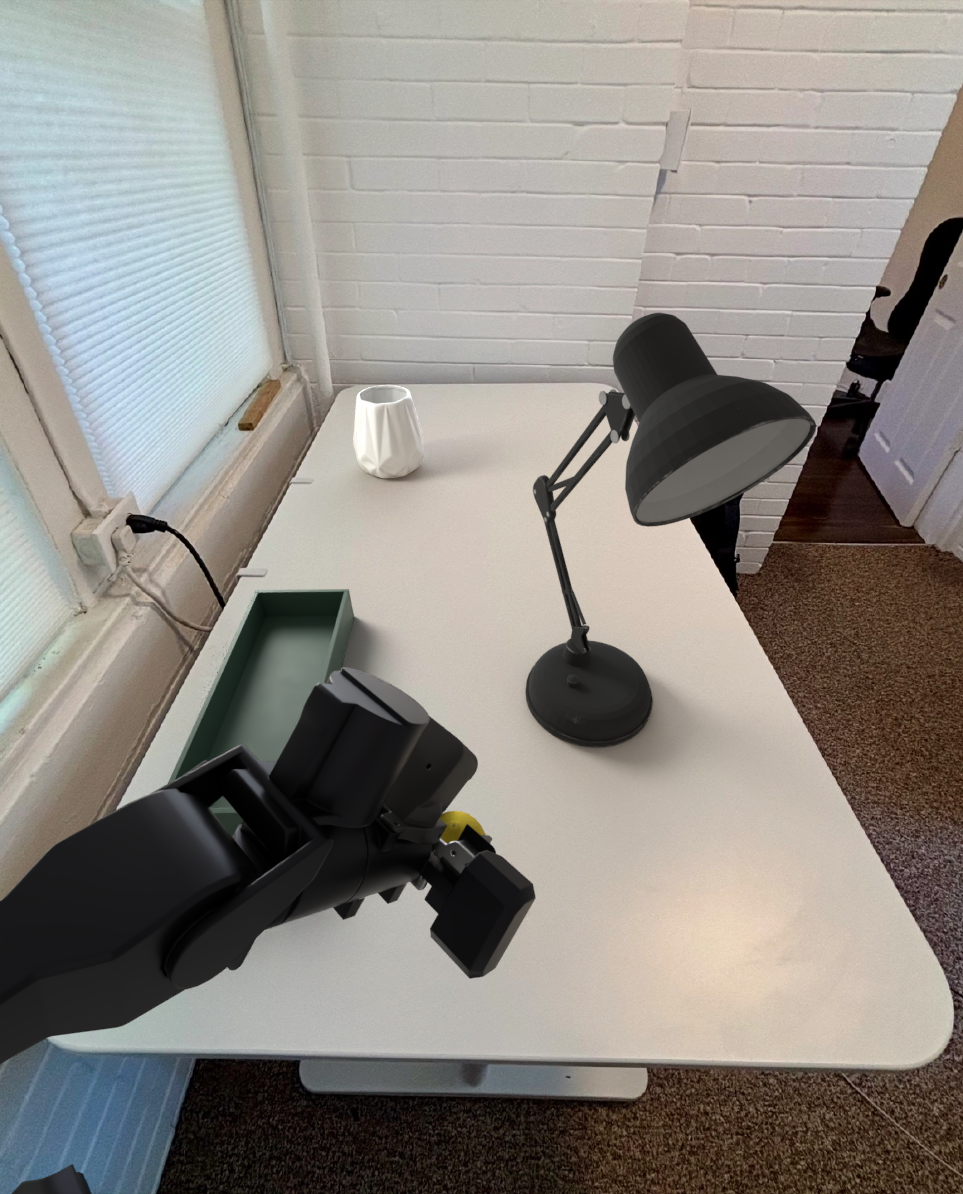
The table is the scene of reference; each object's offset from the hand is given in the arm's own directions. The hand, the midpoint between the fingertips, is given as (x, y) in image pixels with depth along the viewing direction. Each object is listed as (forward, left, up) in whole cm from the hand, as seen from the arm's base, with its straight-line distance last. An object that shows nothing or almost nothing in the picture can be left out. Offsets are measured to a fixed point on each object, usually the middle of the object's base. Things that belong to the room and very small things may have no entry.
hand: (466, 823), depth 47 cm
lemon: (-1, 0, -7) cm, 7 cm away
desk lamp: (+27, -4, -13) cm, 31 cm away
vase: (+72, +50, -13) cm, 89 cm away
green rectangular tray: (+12, +31, -13) cm, 36 cm away
